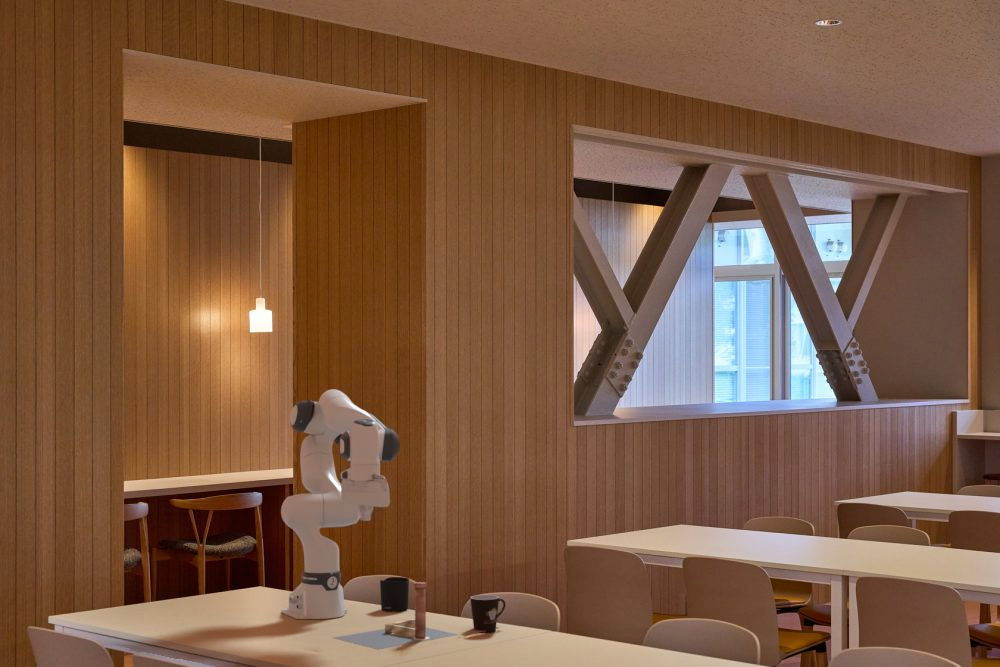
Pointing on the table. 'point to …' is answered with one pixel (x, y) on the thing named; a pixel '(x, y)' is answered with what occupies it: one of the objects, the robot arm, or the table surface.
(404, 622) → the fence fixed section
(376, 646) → the board
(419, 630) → the brown wooden l-shaped piece
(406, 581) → the pen holder
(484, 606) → the coffee mug
